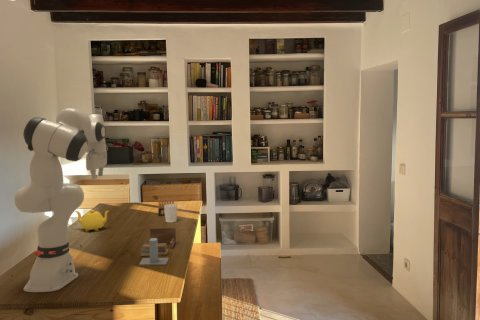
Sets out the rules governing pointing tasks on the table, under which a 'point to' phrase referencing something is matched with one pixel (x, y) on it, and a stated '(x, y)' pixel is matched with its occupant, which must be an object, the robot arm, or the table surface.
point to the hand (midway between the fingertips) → (97, 177)
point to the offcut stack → (161, 249)
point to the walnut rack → (164, 235)
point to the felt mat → (147, 262)
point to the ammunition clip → (161, 208)
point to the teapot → (92, 220)
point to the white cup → (170, 212)
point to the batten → (153, 249)
